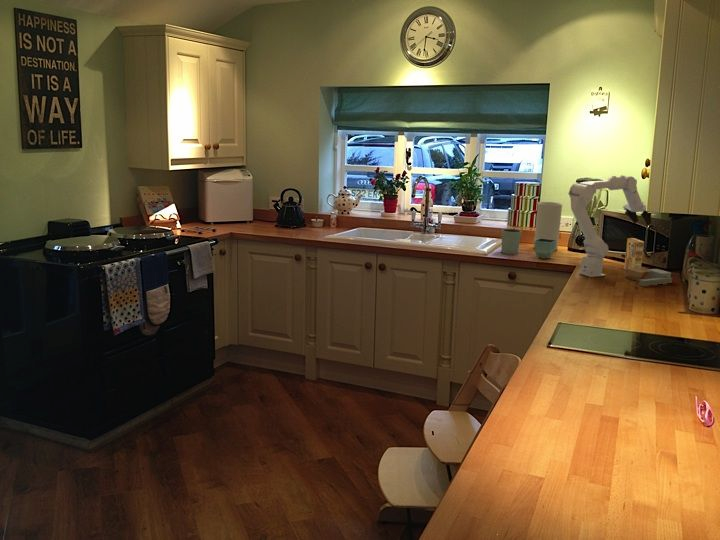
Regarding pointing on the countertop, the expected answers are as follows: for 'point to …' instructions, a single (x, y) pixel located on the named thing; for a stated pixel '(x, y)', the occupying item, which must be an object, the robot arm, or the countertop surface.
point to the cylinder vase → (548, 221)
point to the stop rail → (655, 281)
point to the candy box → (634, 253)
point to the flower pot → (544, 247)
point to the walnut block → (637, 274)
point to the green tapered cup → (510, 241)
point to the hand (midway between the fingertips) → (642, 223)
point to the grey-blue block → (658, 273)
